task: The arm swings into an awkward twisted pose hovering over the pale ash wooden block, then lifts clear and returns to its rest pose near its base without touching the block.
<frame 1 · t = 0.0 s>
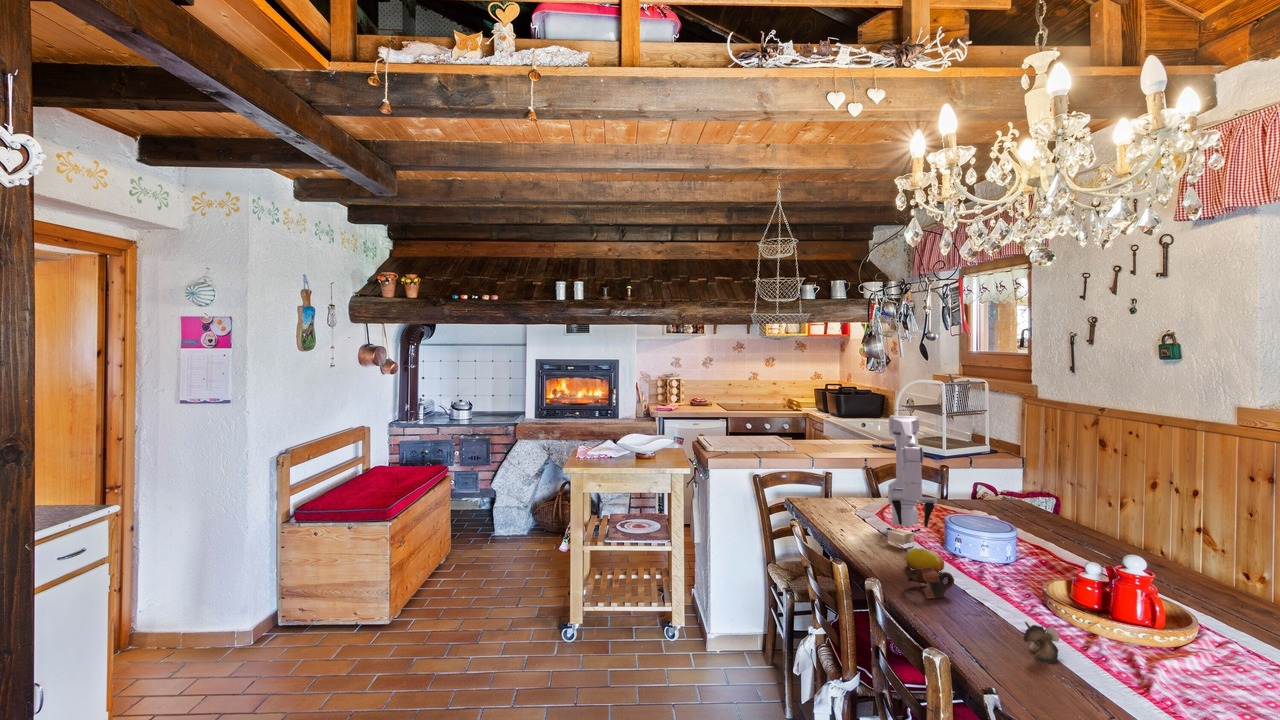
hand: (913, 525, 190), 11 cm above the table, tool pointing down, fingers open, 7 cm apart
fruit: (925, 570, 179), on the table
ash block: (900, 546, 202), on the table
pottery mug: (930, 593, 162), on the table
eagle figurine: (1039, 653, 129), on the table
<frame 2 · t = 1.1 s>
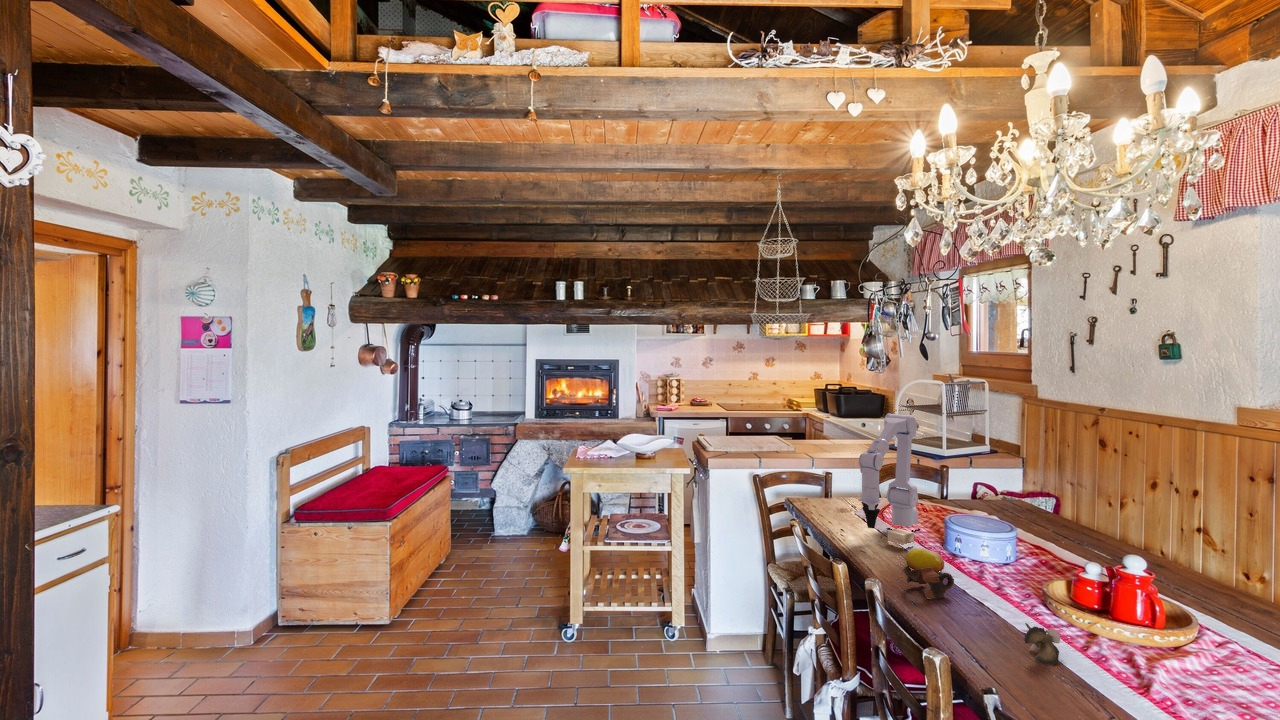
hand: (870, 525, 204), 6 cm above the table, tool pointing down, fingers open, 6 cm apart
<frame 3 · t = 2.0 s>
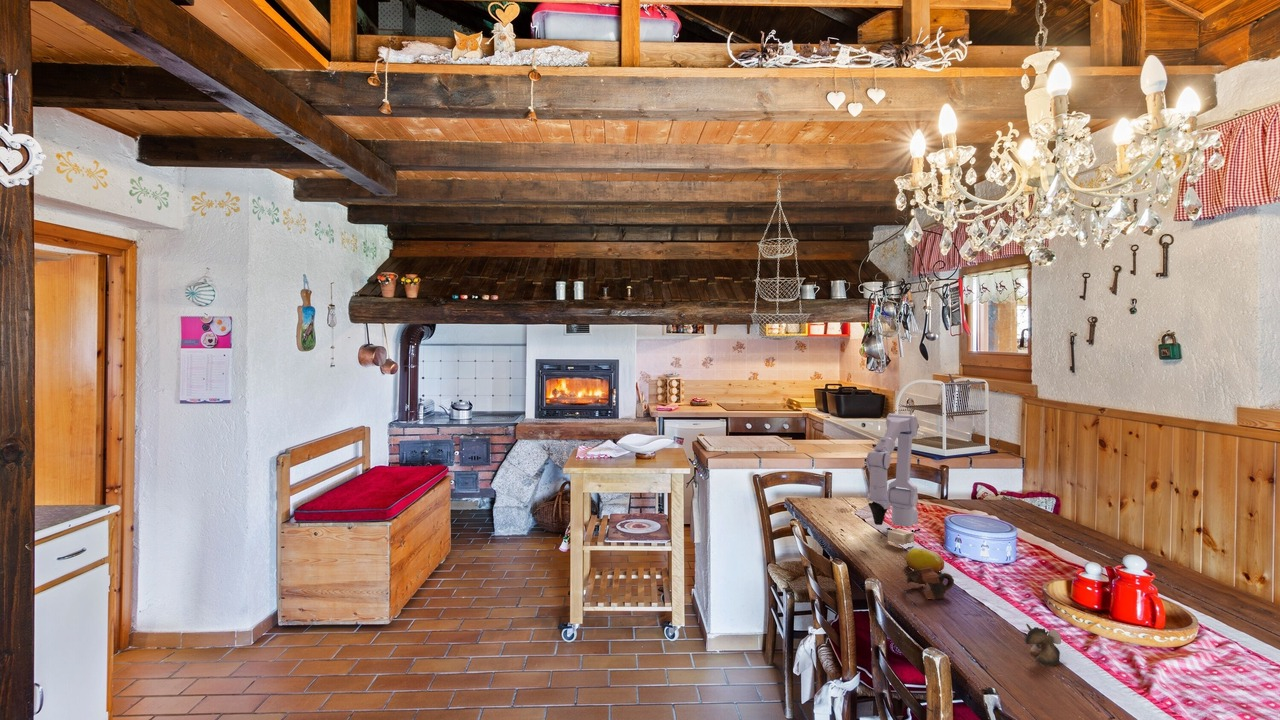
hand: (878, 524, 203), 7 cm above the table, tool pointing down, fingers closed
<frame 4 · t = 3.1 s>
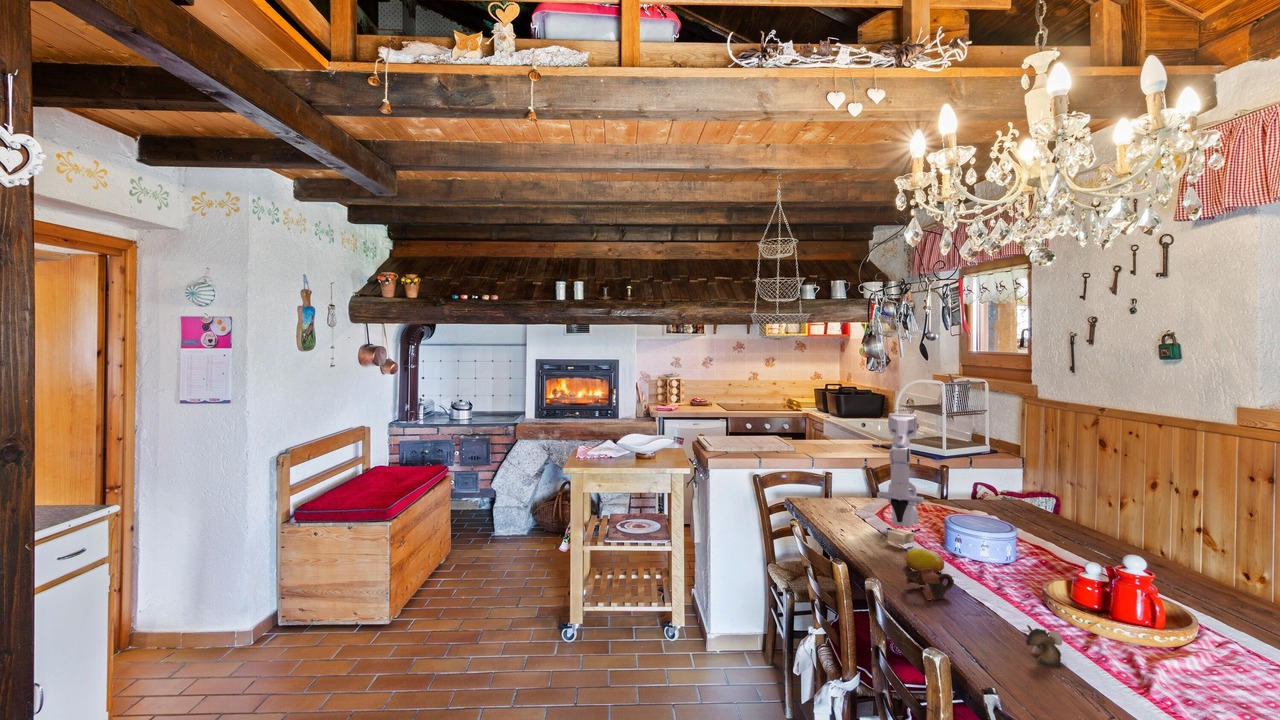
hand: (899, 521, 200), 9 cm above the table, tool pointing down, fingers closed
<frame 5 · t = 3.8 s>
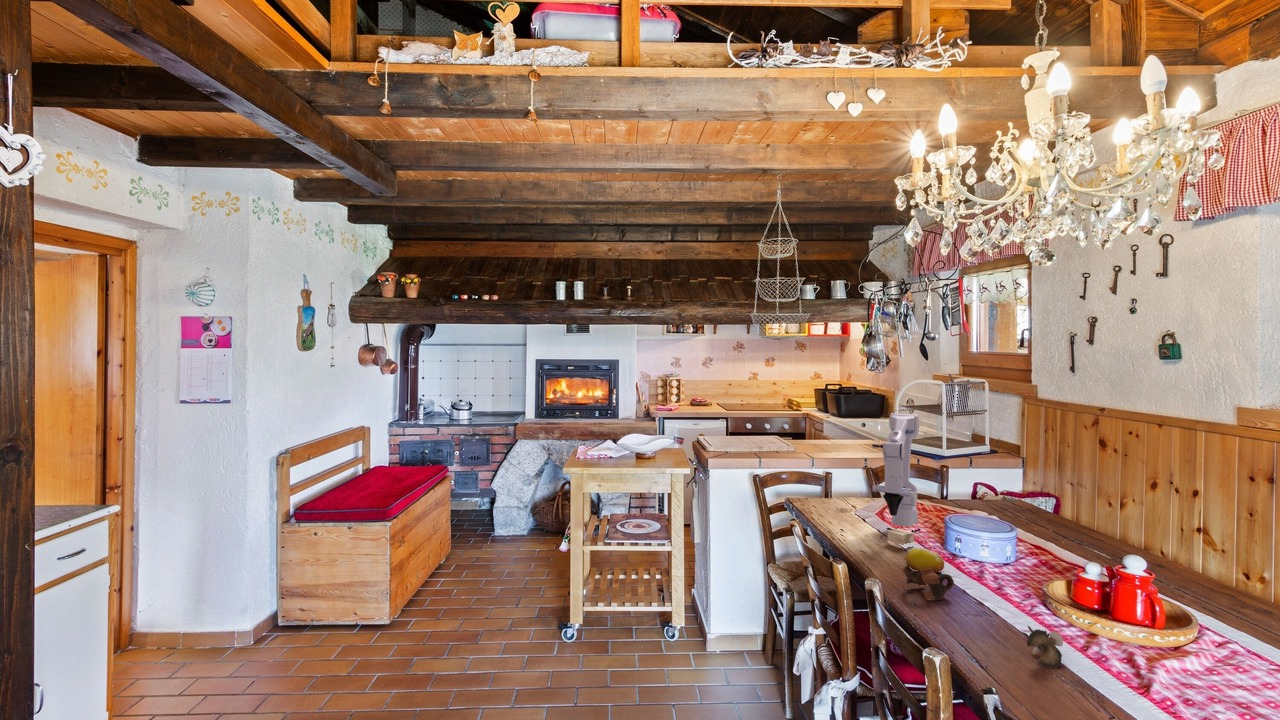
hand: (893, 514, 203), 10 cm above the table, tool pointing down, fingers closed
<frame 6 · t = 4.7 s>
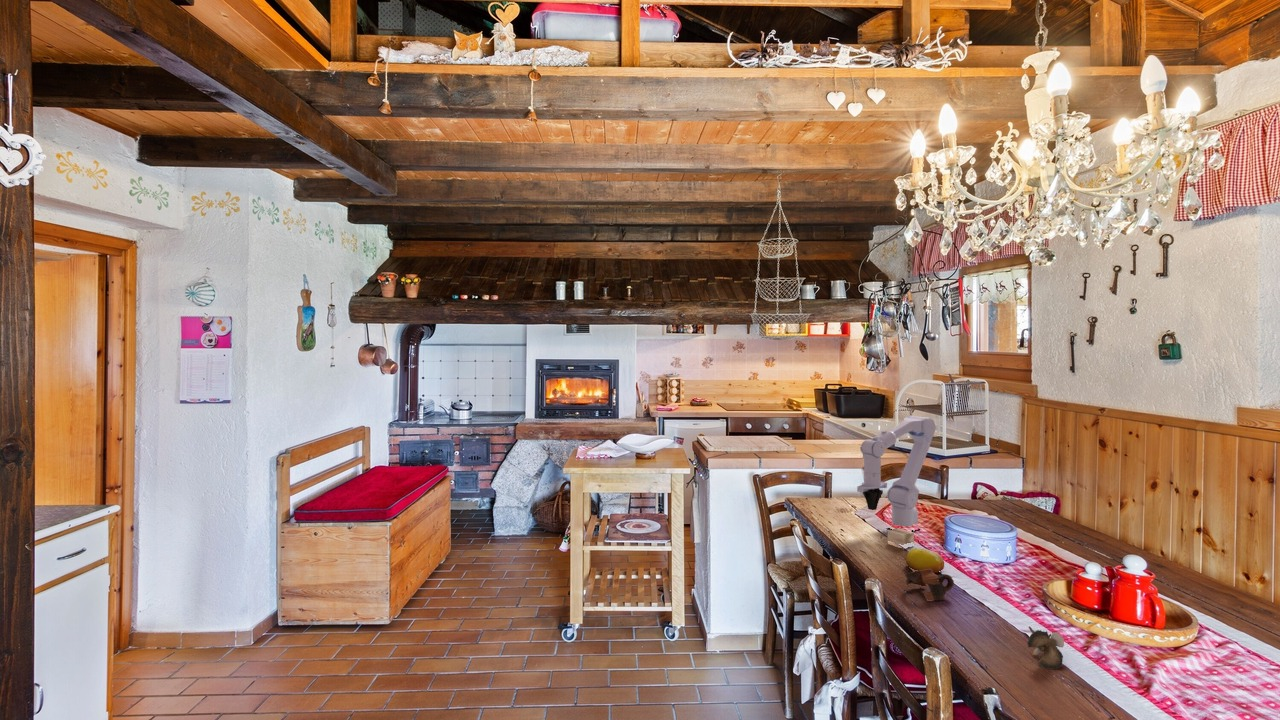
hand: (872, 509, 214), 9 cm above the table, tool pointing down, fingers closed
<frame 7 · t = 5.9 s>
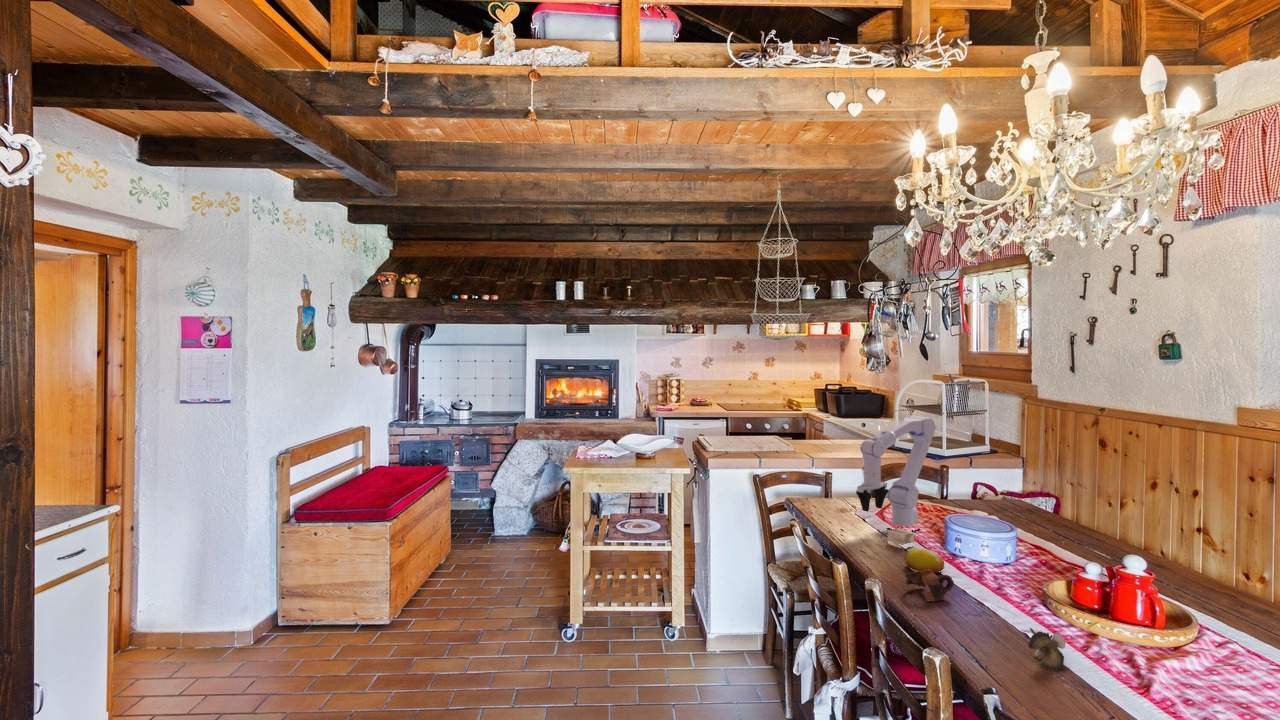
hand: (872, 509, 214), 9 cm above the table, tool pointing down, fingers open, 7 cm apart
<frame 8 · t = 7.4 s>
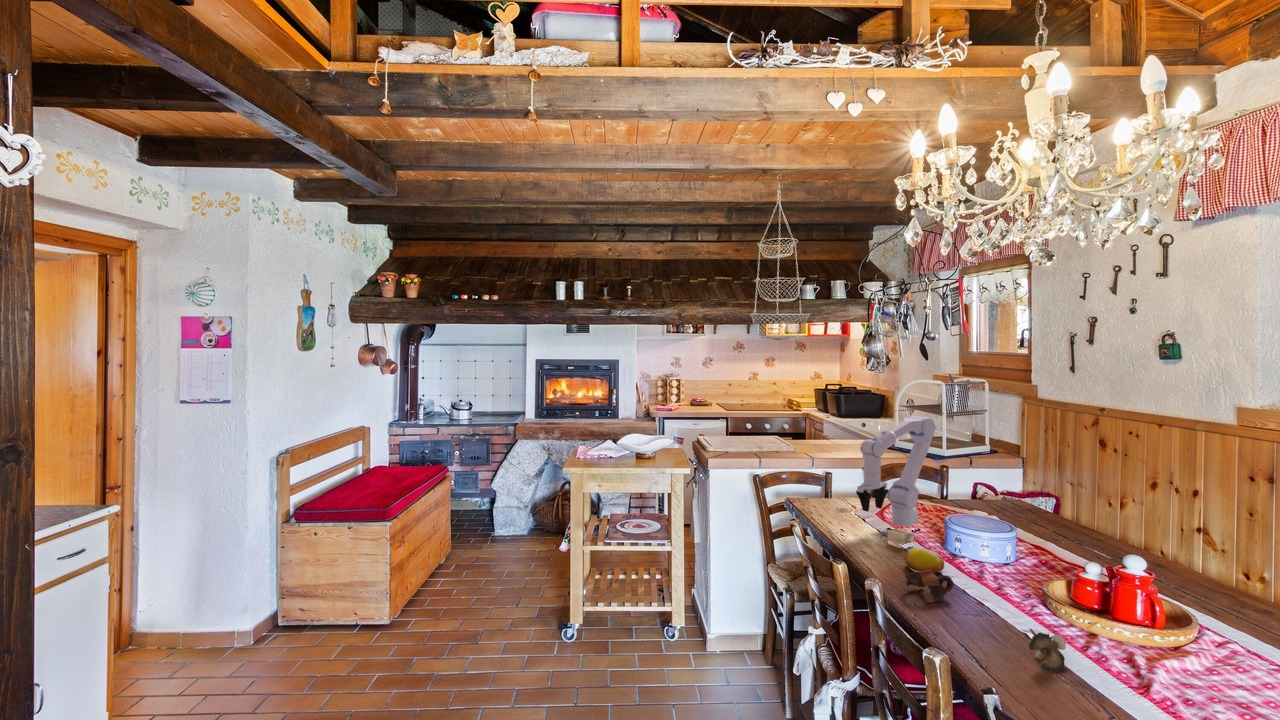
hand: (872, 509, 214), 9 cm above the table, tool pointing down, fingers open, 7 cm apart
at the end: ash block moved 0.2 cm from its start; ash block tilted 0° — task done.
